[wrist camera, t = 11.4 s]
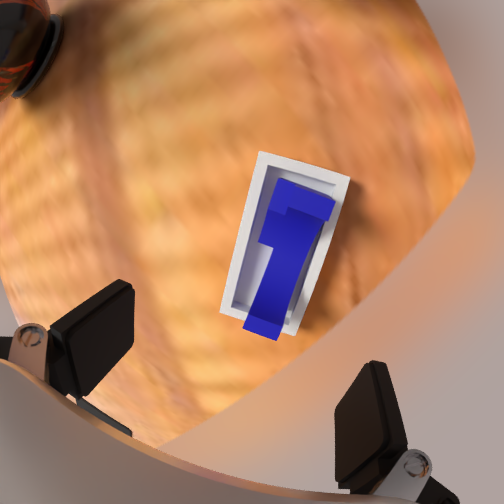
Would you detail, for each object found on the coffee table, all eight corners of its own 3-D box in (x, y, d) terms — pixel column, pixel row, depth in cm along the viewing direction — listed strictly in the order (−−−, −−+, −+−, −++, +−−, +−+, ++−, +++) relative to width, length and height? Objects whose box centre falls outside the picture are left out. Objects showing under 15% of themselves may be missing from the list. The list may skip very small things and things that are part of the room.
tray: (262, 152, 24) (259, 150, 22) (346, 177, 23) (350, 177, 21) (224, 303, 29) (219, 312, 27) (295, 325, 28) (295, 336, 26)
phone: (130, 443, 44) (78, 410, 45) (132, 441, 45) (79, 408, 46) (130, 430, 42) (74, 394, 43) (132, 428, 43) (76, 391, 44)
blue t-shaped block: (281, 177, 24) (273, 178, 18) (328, 195, 23) (335, 201, 18) (241, 292, 28) (225, 321, 22) (283, 307, 27) (276, 340, 22)
